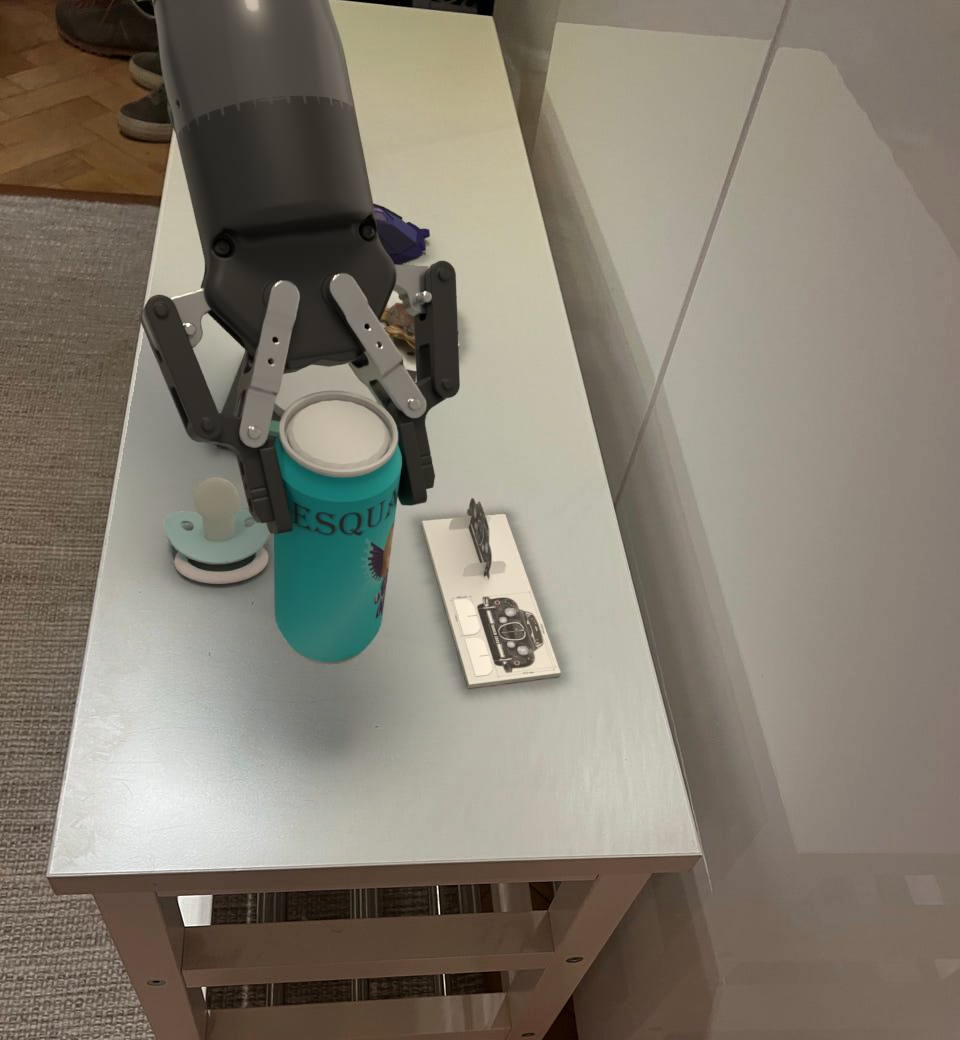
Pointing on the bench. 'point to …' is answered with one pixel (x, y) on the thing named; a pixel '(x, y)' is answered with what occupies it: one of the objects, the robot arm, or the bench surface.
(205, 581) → the pacifier
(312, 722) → the bench surface
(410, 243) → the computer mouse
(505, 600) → the car cutout
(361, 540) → the beverage can
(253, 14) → the robot arm
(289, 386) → the scale
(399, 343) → the frog figurine
